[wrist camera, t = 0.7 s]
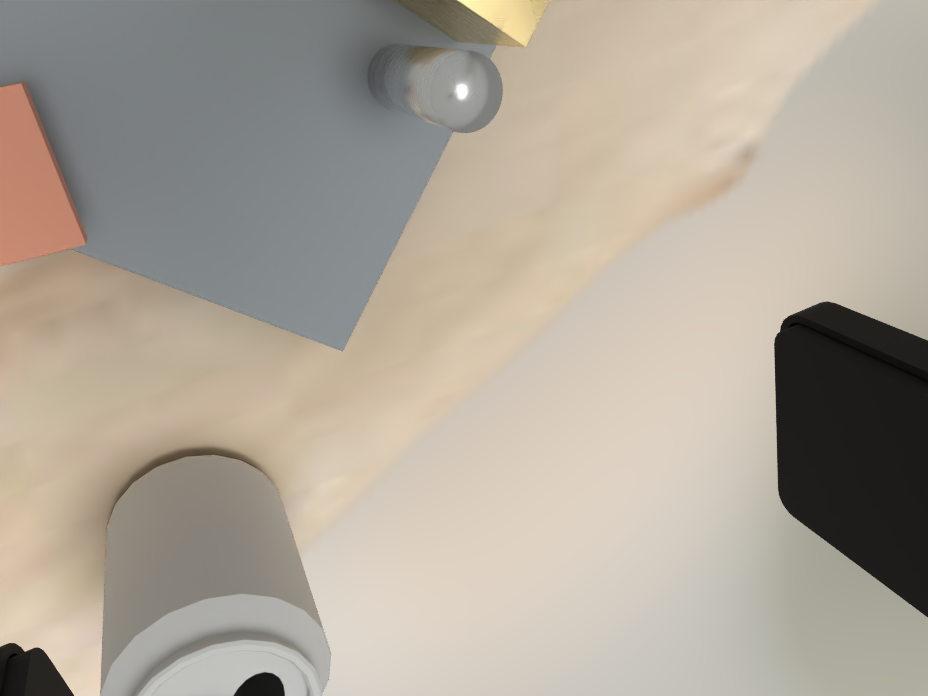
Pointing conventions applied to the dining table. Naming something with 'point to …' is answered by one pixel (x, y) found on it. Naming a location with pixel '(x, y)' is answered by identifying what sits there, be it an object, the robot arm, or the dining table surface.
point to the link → (481, 19)
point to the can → (207, 588)
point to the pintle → (437, 85)
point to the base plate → (232, 143)
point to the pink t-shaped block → (31, 185)
